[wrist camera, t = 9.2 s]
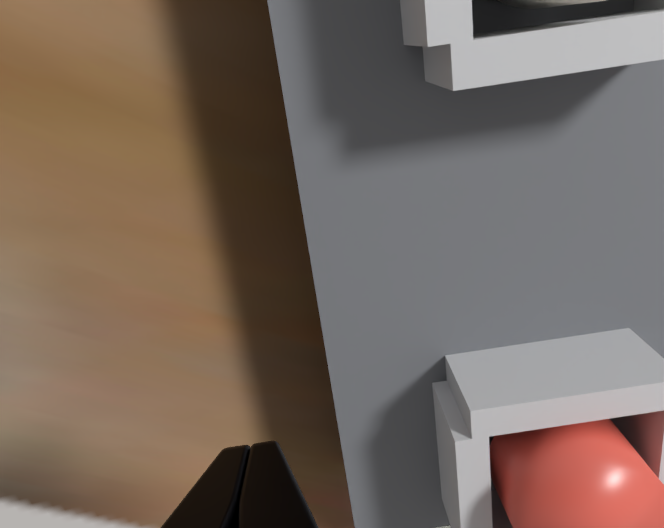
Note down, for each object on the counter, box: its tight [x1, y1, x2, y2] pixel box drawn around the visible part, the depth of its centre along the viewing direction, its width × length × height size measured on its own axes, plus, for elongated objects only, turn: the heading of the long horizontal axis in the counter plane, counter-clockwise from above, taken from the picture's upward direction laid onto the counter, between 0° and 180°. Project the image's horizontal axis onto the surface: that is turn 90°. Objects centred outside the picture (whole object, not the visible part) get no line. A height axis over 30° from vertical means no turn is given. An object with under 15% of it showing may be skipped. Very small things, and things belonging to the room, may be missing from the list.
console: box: [267, 0, 664, 528], centre depth 18 cm, size 14×24×7 cm, turn 8°
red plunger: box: [489, 419, 664, 528], centre depth 17 cm, size 4×4×3 cm
